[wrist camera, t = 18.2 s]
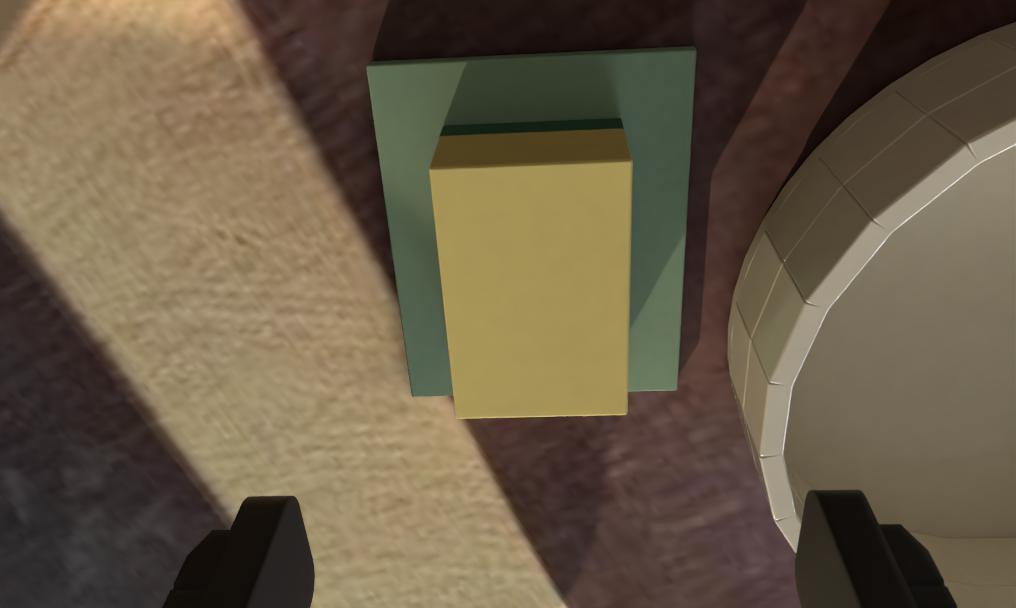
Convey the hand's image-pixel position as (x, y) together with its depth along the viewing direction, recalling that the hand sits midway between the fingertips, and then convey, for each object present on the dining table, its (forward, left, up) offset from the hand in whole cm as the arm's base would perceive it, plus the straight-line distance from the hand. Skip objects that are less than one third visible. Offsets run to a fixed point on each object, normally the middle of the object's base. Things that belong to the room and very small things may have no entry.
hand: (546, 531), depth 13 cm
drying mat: (0, 0, -11) cm, 11 cm away
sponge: (0, 0, -11) cm, 11 cm away
